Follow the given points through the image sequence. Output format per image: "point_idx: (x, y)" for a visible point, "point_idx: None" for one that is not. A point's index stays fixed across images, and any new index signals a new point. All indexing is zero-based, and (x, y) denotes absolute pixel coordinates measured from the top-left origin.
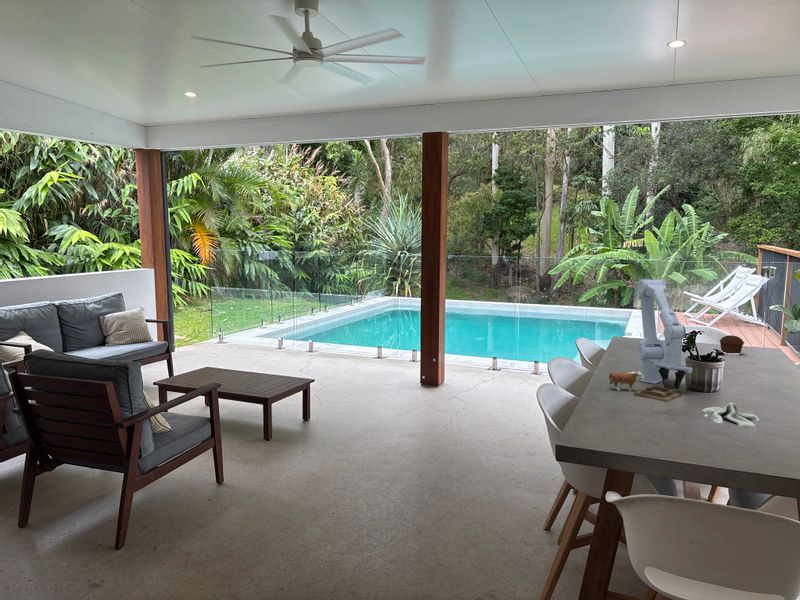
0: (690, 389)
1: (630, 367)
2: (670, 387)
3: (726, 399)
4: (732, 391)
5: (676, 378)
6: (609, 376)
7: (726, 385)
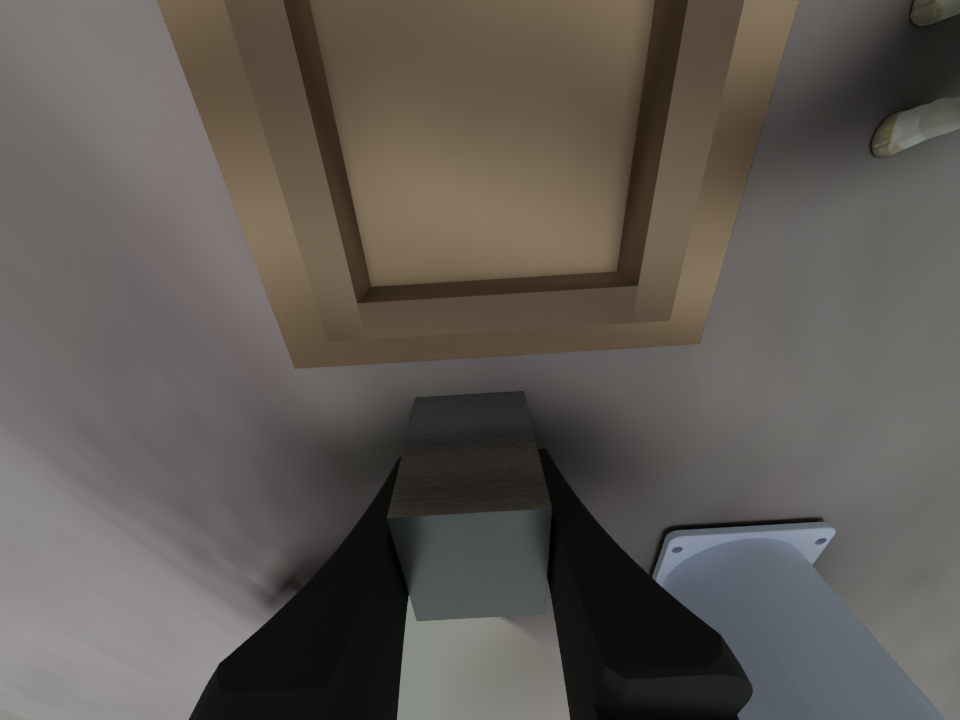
0: None
1: None
2: (450, 431)
3: (54, 524)
4: None
5: (362, 575)
6: None
7: None
